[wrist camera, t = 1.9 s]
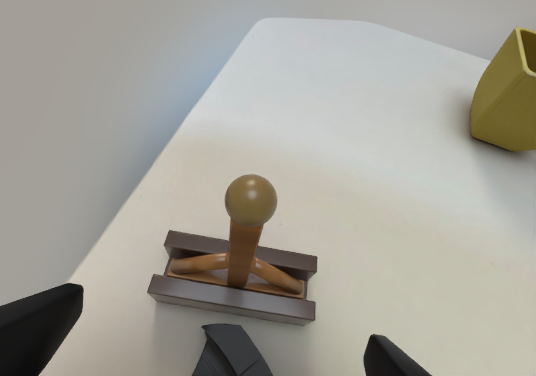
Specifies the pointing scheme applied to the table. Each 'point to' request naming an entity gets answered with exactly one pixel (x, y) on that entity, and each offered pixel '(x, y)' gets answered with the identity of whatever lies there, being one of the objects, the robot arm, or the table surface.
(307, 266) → the rail
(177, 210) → the table surface
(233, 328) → the curved wedge
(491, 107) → the flower pot
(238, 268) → the ball-topped joystick
